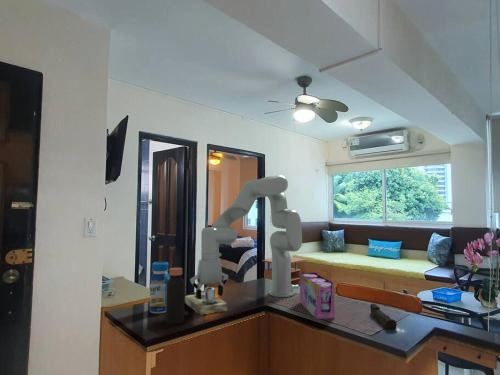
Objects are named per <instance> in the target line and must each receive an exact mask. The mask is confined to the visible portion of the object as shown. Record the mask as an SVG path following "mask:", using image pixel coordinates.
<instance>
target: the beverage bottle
mask: <svg viewBox="0 0 500 375" xmlns="http://www.w3.org/2000/svg"><path fill="white" fill-rule="evenodd" d="M151 271H152V272H153V273H152V274H151V275H150V279H149V281H150V284H149V308H148V309H149V313H151V314H164V313H166V296H167V281H168V280H169V279H170V276H169V272H168V271H169V262H168V261H154V262H152V263H151Z"/></svg>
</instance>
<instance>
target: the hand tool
mask: <svg viewBox="0 0 500 375" xmlns="http://www.w3.org/2000/svg"><path fill="white" fill-rule="evenodd" d="M369 307H370V314H371V316H372V318H374V319H376V320H377V321H379V322H380V323H381V324H382V325H383V326H384V327H385V329H386V330H387V331H395V330H396V329H397V325H398V323H397V321H396V320H395V319H393V318H391V317H390V316H389V315H387V314H386V313H384V312H383V311H382V310H381V308H380V306H378V305H377V304H375V303H370V306H369Z"/></svg>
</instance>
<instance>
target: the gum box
mask: <svg viewBox="0 0 500 375" xmlns="http://www.w3.org/2000/svg"><path fill="white" fill-rule="evenodd" d="M299 297H300V298H299V299H300V300H299V303H300V305H302V306H303V307H304V308H305V309H306V310H307V311H308V312H309V314H311V315H312V317H314V318H315V319H317V320H318V319H325V320H326V319H335V316H336V315H335V313H336V312H335V283H334V282H332V281H331V280H330V279H327V278H325V277H324V276H322V275H320V274H318V273H317V272H300V273H299Z"/></svg>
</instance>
